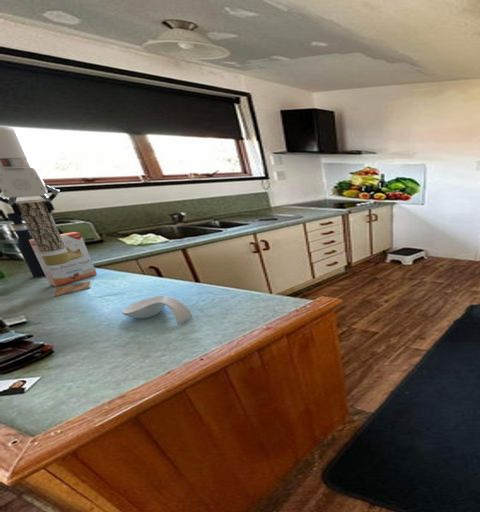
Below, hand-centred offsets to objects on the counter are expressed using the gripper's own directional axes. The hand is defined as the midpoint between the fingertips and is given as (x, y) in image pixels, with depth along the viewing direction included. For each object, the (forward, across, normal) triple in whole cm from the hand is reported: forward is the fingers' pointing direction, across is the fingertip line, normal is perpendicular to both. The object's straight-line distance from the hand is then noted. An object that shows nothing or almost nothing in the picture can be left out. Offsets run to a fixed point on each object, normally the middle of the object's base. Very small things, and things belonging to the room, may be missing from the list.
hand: (36, 213), depth 102 cm
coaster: (+32, 0, +1) cm, 32 cm away
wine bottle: (+32, -11, +37) cm, 50 cm away
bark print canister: (+20, 0, 0) cm, 20 cm away
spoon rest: (+32, +23, -56) cm, 68 cm away
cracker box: (+32, 0, +15) cm, 36 cm away
